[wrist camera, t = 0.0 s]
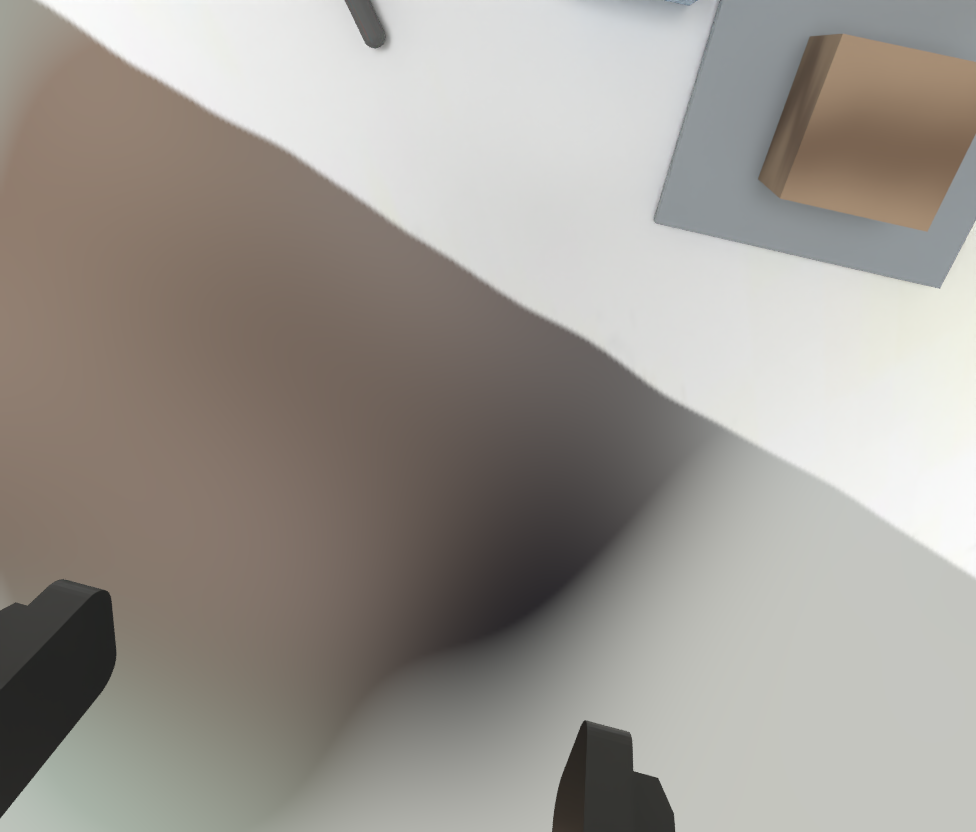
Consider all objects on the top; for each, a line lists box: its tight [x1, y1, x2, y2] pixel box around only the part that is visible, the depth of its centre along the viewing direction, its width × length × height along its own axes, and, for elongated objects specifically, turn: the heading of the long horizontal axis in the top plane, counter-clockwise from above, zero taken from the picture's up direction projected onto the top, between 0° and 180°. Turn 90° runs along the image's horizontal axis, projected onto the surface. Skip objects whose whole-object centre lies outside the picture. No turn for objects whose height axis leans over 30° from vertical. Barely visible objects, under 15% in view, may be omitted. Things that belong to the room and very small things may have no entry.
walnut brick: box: [758, 34, 976, 232], centre depth 29 cm, size 6×6×5 cm
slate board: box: [654, 0, 976, 289], centre depth 32 cm, size 12×14×1 cm
